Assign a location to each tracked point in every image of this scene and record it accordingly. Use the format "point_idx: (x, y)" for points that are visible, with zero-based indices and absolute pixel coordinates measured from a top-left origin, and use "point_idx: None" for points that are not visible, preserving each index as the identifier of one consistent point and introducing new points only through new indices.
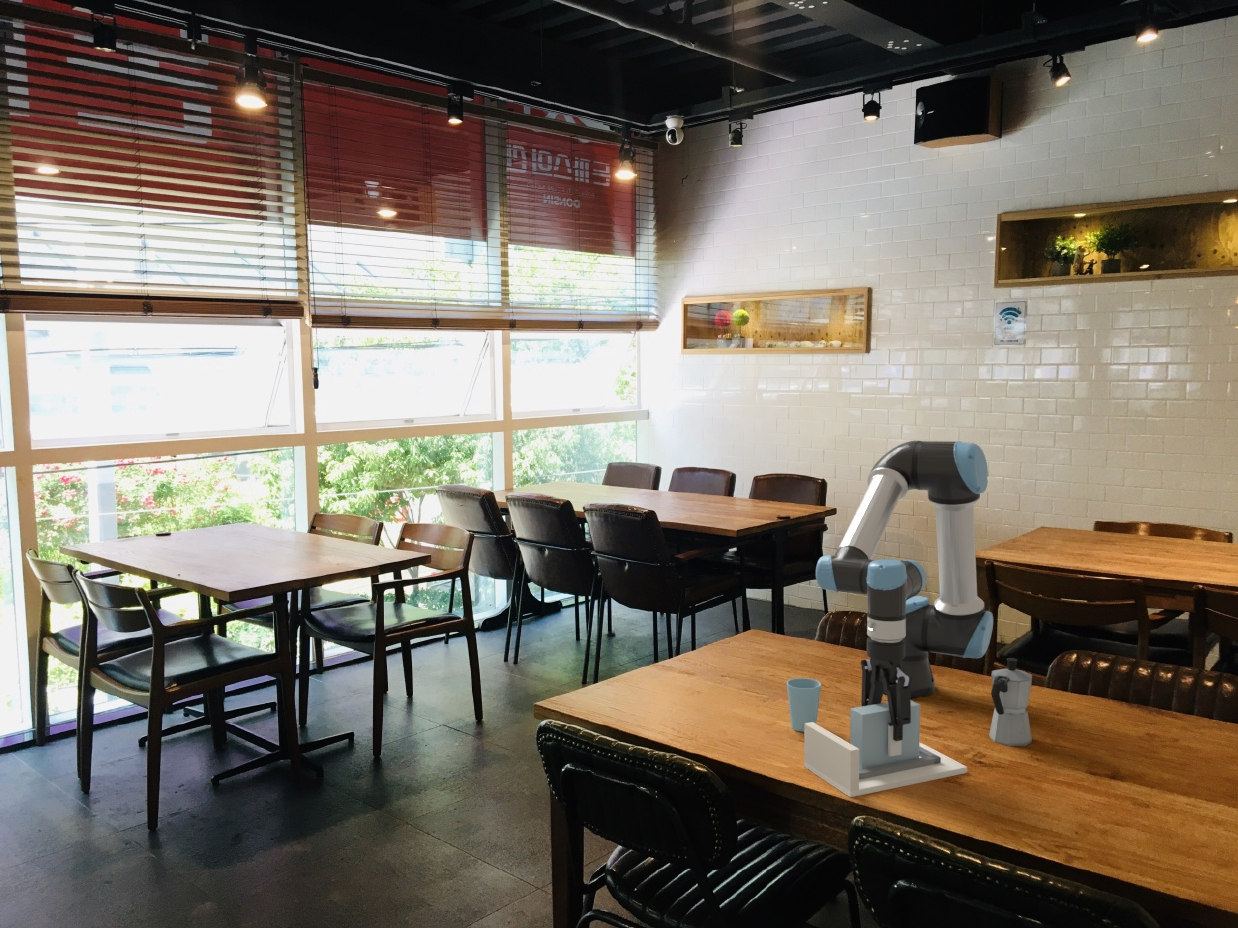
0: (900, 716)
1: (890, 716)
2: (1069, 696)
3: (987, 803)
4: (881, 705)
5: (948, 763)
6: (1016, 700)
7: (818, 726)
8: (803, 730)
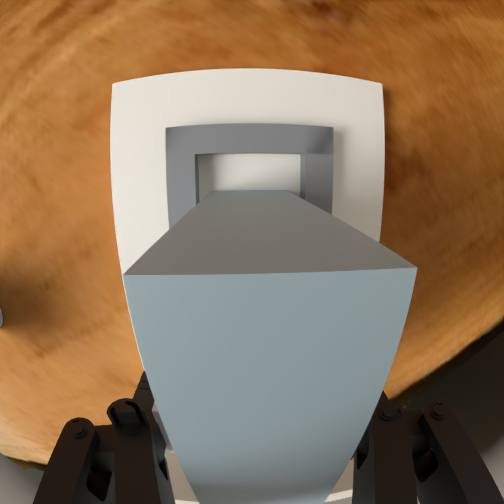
0: (434, 468)
1: (356, 474)
2: None
3: (490, 196)
4: (235, 500)
5: (338, 109)
6: None
7: (182, 501)
8: (1, 321)
